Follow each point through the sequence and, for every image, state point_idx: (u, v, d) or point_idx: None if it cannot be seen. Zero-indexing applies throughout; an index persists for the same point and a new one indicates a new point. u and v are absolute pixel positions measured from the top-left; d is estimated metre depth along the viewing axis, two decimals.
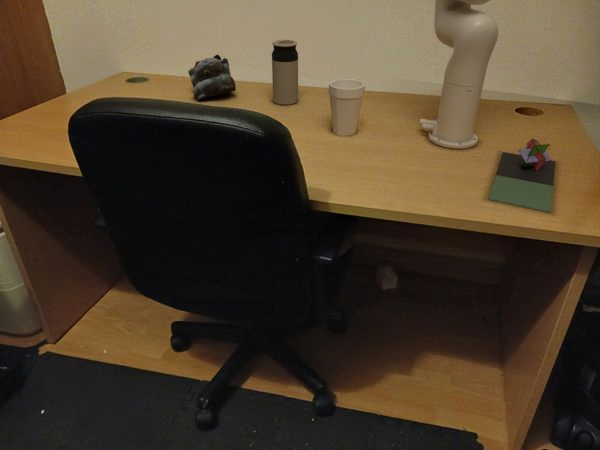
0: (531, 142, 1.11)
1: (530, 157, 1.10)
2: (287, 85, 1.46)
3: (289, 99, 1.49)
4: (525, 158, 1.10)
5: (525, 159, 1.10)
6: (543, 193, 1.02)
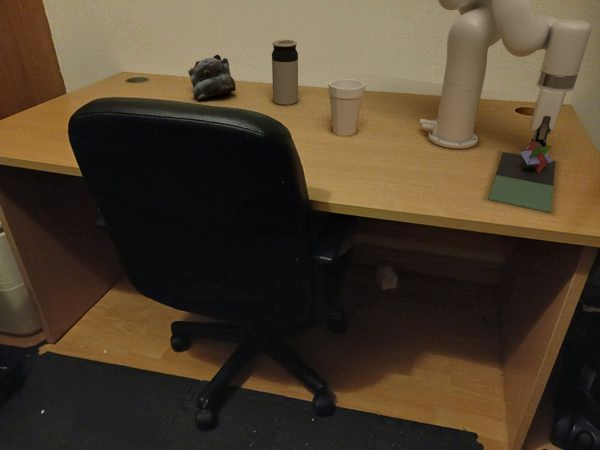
0: (532, 144, 1.11)
1: (531, 159, 1.09)
2: (287, 85, 1.46)
3: (289, 99, 1.49)
4: (526, 160, 1.09)
5: (527, 161, 1.09)
6: (543, 193, 1.02)
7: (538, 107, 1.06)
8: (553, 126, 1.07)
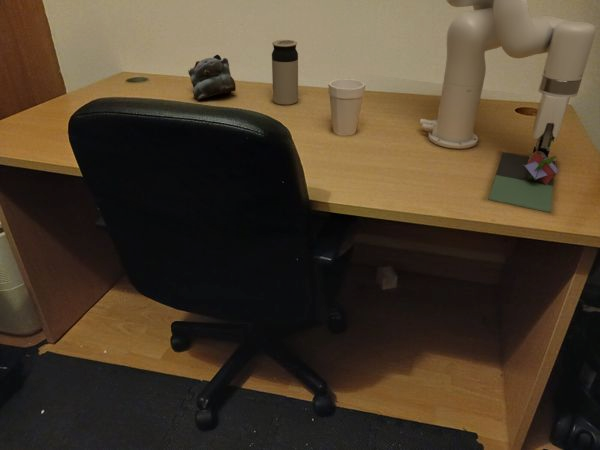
0: (536, 154, 1.05)
1: (537, 171, 1.04)
2: (287, 85, 1.46)
3: (289, 99, 1.49)
4: (533, 173, 1.04)
5: (533, 175, 1.04)
6: (543, 193, 1.02)
7: (541, 114, 1.01)
8: (557, 134, 1.01)
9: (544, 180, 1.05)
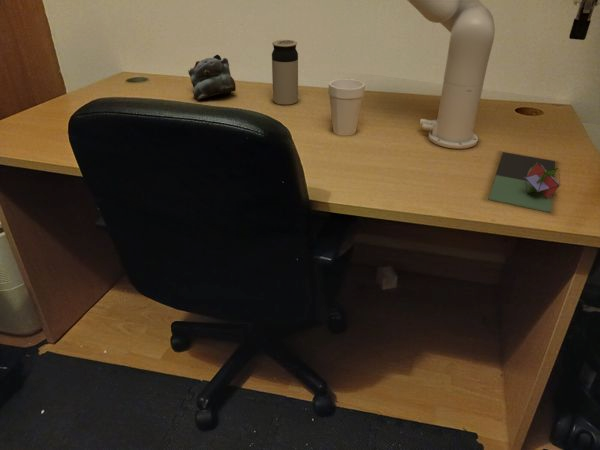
0: (536, 167, 1.01)
1: (539, 184, 0.99)
2: (287, 85, 1.46)
3: (289, 99, 1.49)
4: (535, 186, 0.99)
5: (536, 187, 0.98)
6: None
7: None
8: None
9: (545, 194, 1.00)
